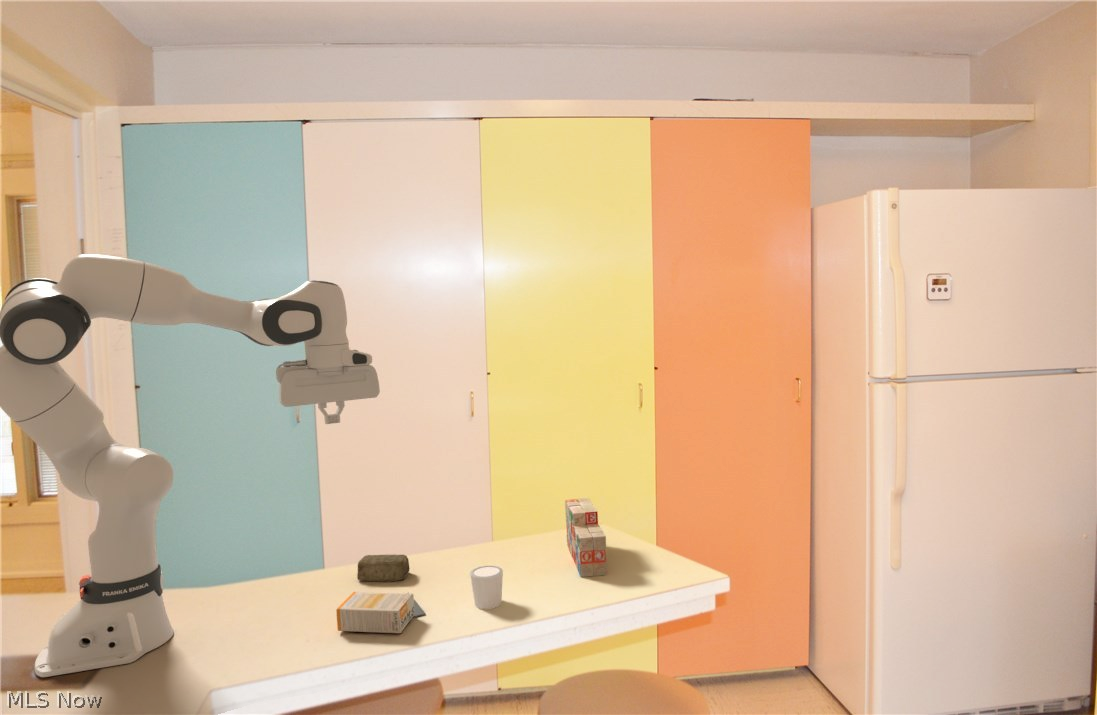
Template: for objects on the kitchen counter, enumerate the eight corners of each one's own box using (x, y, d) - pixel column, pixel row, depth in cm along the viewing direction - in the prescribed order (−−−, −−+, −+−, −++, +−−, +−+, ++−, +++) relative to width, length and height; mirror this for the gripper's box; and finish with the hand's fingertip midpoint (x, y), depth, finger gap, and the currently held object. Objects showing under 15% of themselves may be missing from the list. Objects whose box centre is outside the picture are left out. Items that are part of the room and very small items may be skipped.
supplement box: (337, 632, 136) (400, 635, 134) (335, 608, 136) (398, 610, 134) (355, 613, 145) (415, 615, 142) (354, 590, 144) (414, 592, 142)
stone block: (404, 582, 161) (403, 561, 160) (355, 583, 161) (354, 562, 161) (411, 572, 166) (409, 552, 166) (363, 573, 167) (362, 553, 167)
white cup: (467, 601, 149) (465, 569, 148) (496, 593, 152) (495, 562, 151) (479, 613, 143) (477, 580, 142) (509, 605, 146) (508, 573, 145)
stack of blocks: (607, 575, 159) (605, 523, 158) (580, 578, 159) (578, 525, 158) (590, 543, 181) (588, 496, 180) (566, 545, 180) (564, 498, 179)
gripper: (277, 363, 139) (282, 431, 140) (379, 355, 149) (383, 419, 150) (273, 361, 145) (278, 427, 146) (372, 353, 154) (376, 415, 155)
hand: (332, 423), depth 148 cm, fingers closed
